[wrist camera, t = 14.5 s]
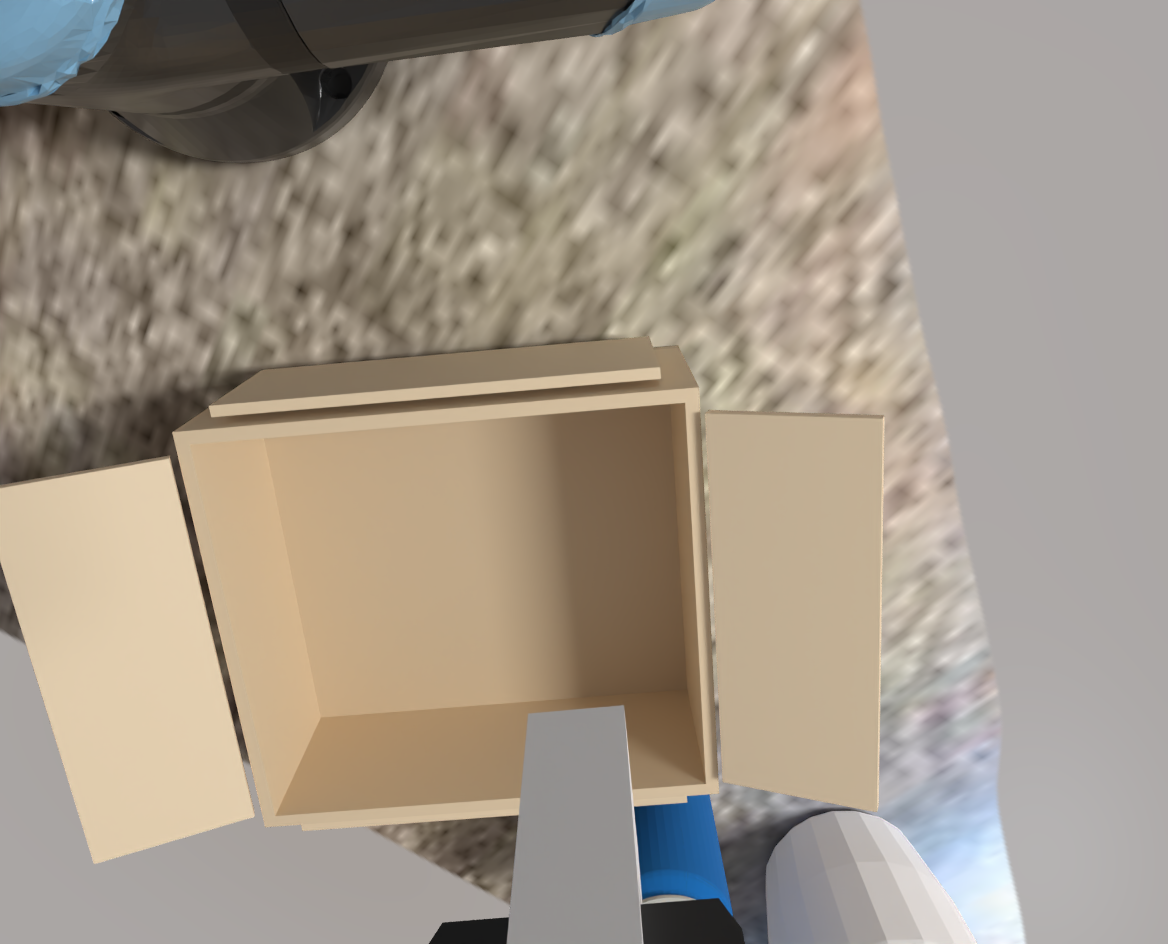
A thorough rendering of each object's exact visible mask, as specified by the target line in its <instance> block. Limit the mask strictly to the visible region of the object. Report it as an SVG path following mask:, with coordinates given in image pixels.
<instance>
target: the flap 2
mask: <svg viewBox="0 0 1168 944" xmlns="http://www.w3.org/2000/svg"><path fill="white" fill-rule="evenodd" d="M705 422H706V443H707V464H708V485H709V506H710V527H711V548H712V569H713V590H714V611H715V632H716V653H717V674H718V695H719V716H720V738H721V759H722V780H723V782H725V783H730V784H735V785H740V786H745V787H750V788H755V789H761V790H766V791H771V792H776V793H781V794H786V795H791V796H796V797H802V798H807V799H812V800H817V801H822V802H827V803H832V804H837V805H842V806H848V807H853V808H858V809H863V810H868V811H873V812H877V810H878V805H879V742H880V677H881V611H882V545H883V479H884V415H860V414H825V413H790V412H755V411H720V410H708V411H707V412H706V413H705Z"/></svg>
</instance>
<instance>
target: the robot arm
mask: <svg viewBox="0 0 1168 944" xmlns="http://www.w3.org/2000/svg"><path fill="white" fill-rule="evenodd" d="M713 1H715V0H0V106H13V105H18V104H22V103H30V104H41V105H53V106H64V107H75V108H87V109H98V110H108V111H109V112H110V113H111V114H112V115H113V116H115V117H116V118H117V119H118V120H120V121H121V122H122V123H124V124H125V125H126V126H128V127H129V128H131V129H132V130H134V131H135V132H137V133H138V134H140V135H142V136H143V137H145V138H147V139H149V140H151V141H153V142H155V143H157V144H159V145H161V146H163V147H166V148H168V149H171V150H173V151H176V152H179V153H182V154H185V155H188V156H192V157H195V158H199V159H205V160H210V161H219V162H263V161H271V160H276V159H281V158H286V157H289V156H292V155H295V154H298V153H301V152H303V151H306V150H308V149H310V148H312V147H314V146H316V145H318V144H320V143H322V142H323V141H325V140H326V139H328V138H330V137H331V136H332V135H334V134H335V133H336V132H338V131H339V130H340V129H341V128H343V127H344V126H345V125H346V124H347V123H348V122H349V121H350V120H351V119H352V118H353V117H354V116H355V115H356V114H357V113H358V112H359V110H360V109H361V108H362V107H363V106H364V104H365V103H366V101H367V100H368V99H369V97H370V96H371V94H372V92H373V91H374V89H375V88H376V86H377V84H378V82H379V80H380V78H381V76H382V74H383V72H384V69H385V67H386V65H387V62H388V61H393V60H401V59H408V58H416V57H424V56H431V55H439V54H447V53H454V52H462V51H470V50H477V49H485V48H493V47H500V46H508V45H516V44H523V43H531V42H539V41H546V40H554V39H562V38H569V37H577V36H585V35H590V36H592V37H600V36H603V35H612V34H614V33H616V32H619V31H621V30H623V29H624V28H626V27H627V26H628V25H631V24H636V23H640V22H645V21H649V20H654V19H659V18H663V17H668V16H673V15H677V14H682V13H686V12H691V11H694V10H698V9H700V8H702V7H704V6H706V5H708V4H710V3H712V2H713ZM429 944H745V942H744V938H743V933H742V929H741V927H740V926H739V924H738V923H737V922H736V920H735V919H734V918H733V916H732V915H731V914H730V912H729V911H728V910H727V908H726V907H725V906H724V904H723V903H722V902H721V900H720V899H719V898H711V899H699V900H686V901H674V902H662V903H649V904H642V893H641V880H640V868H639V856H638V844H637V834H636V824H635V813H634V803H633V793H632V783H631V772H630V762H629V752H628V742H627V731H626V721H625V711H624V705H621V706H610V707H598V708H587V709H575V710H564V711H552V712H540V713H529V714H528V721H527V731H526V742H525V753H524V764H523V774H522V785H521V796H520V806H519V817H518V828H517V839H516V849H515V860H514V871H513V882H512V892H511V903H510V914H509V917H508V918H495V919H483V920H470V921H458V922H445V923H442V924H441V926H440V927H439V929H438V931H437V932H436V934H435V935H434V937H433V938H432V940H431V941H430V943H429Z"/></svg>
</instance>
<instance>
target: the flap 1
mask: <svg viewBox="0 0 1168 944" xmlns="http://www.w3.org/2000/svg"><path fill="white" fill-rule="evenodd" d="M0 562H1V566H2V569H3V572H4V575H5V578H6V582H7V585H8V588H9V591H10V595H11V598H12V601H13V604H14V607H15V611H16V614H17V617H18V620H19V624H20V627H21V630H22V633H23V636H24V640H25V643H26V646H27V649H28V652H29V656H30V659H31V662H32V665H33V668H34V672H35V675H36V678H37V682H38V685H39V688H40V691H41V694H42V698H43V701H44V704H45V707H46V711H47V714H48V717H49V720H50V723H51V727H52V730H53V733H54V736H55V740H56V743H57V746H58V749H59V752H60V756H61V759H62V762H63V765H64V769H65V772H66V775H67V778H68V781H69V785H70V788H71V791H72V794H73V798H74V801H75V804H76V807H77V810H78V814H79V817H80V820H81V823H82V827H83V830H84V833H85V836H86V839H87V842H88V846H89V849H90V852H91V856H92V859H93V862H94V864H96V863H100V862H103V861H107V860H110V859H113V858H117V857H120V856H123V855H127V854H130V853H133V852H137V851H140V850H144V849H147V848H150V847H154V846H157V845H161V844H164V843H167V842H171V841H174V840H177V839H181V838H184V837H187V836H191V835H194V834H197V833H201V832H204V831H208V830H211V829H215V828H218V827H221V826H225V825H228V824H231V823H235V822H238V821H242V820H245V819H248V818H251V817H254V808H253V803H252V799H251V795H250V791H249V787H248V782H247V778H246V774H245V770H244V766H243V761H242V757H241V753H240V749H239V745H238V741H237V736H236V732H235V728H234V724H233V720H232V715H231V711H230V707H229V703H228V699H227V694H226V690H225V686H224V682H223V678H222V673H221V669H220V665H219V661H218V657H217V652H216V648H215V644H214V640H213V636H212V632H211V627H210V623H209V619H208V615H207V611H206V606H205V602H204V598H203V594H202V590H201V585H200V581H199V577H198V573H197V569H196V564H195V560H194V556H193V552H192V548H191V543H190V539H189V535H188V531H187V527H186V522H185V518H184V514H183V510H182V506H181V502H180V497H179V493H178V489H177V485H176V481H175V476H174V472H173V468H172V464H171V460H170V456H164V457H158V458H153V459H147V460H141V461H135V462H130V463H124V464H118V465H113V466H107V467H101V468H95V469H90V470H84V471H78V472H73V473H67V474H61V475H55V476H50V477H44V478H38V479H32V480H27V481H21V482H15V483H10V484H4V485H0Z"/></svg>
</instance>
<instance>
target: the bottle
mask: <svg viewBox="0 0 1168 944" xmlns="http://www.w3.org/2000/svg"><path fill="white" fill-rule="evenodd" d="M766 904H767V924H768V944H977V942H976V940H975V938H974V937H973V935H972V933H971V931H970V930H969V928H968V926H967V924H966V923H965V921H964V919H963V917H962V916H961V914H960V912H959V910H958V908H957V907H956V905H955V903H954V902H953V900H952V899H951V898H950V896H949V895H948V893H947V892H946V891H945V889H944V888H943V887H942V885H941V884H940V883H939V881H938V880H937V879H936V877H935V876H934V874H933V873H932V872H931V870H930V869H929V868H928V866H927V865H926V864H925V862H924V861H923V859H922V858H921V857H920V855H919V854H918V853H917V851H916V850H915V849H914V847H913V846H912V845H911V843H910V842H909V841H908V839H907V838H906V837H905V836H904V834H903V833H902V832H901V831H900V829H899V828H897V827H895V826H894V825H892V824H891V823H889V822H887V821H886V820H884V819H882V818H881V817H877V816H873V815H869V814H865V813H862V812H858V811H830V812H826V813H823V814H819V815H816V816H812V817H810V818H808V819H806V820H805V821H803V822H801V823H800V824H798V825H796V826H795V827H793V828H792V829H791V830H790V831H789V832H788V833H787V834H786V835H785V836H784V837H783V839H782V840H781V841H780V842H779V843H778V844H777V845H776V846H775V848H774V850H773V852H772V855H771V857H770V859H769V861H768V864H767V866H766Z"/></svg>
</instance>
